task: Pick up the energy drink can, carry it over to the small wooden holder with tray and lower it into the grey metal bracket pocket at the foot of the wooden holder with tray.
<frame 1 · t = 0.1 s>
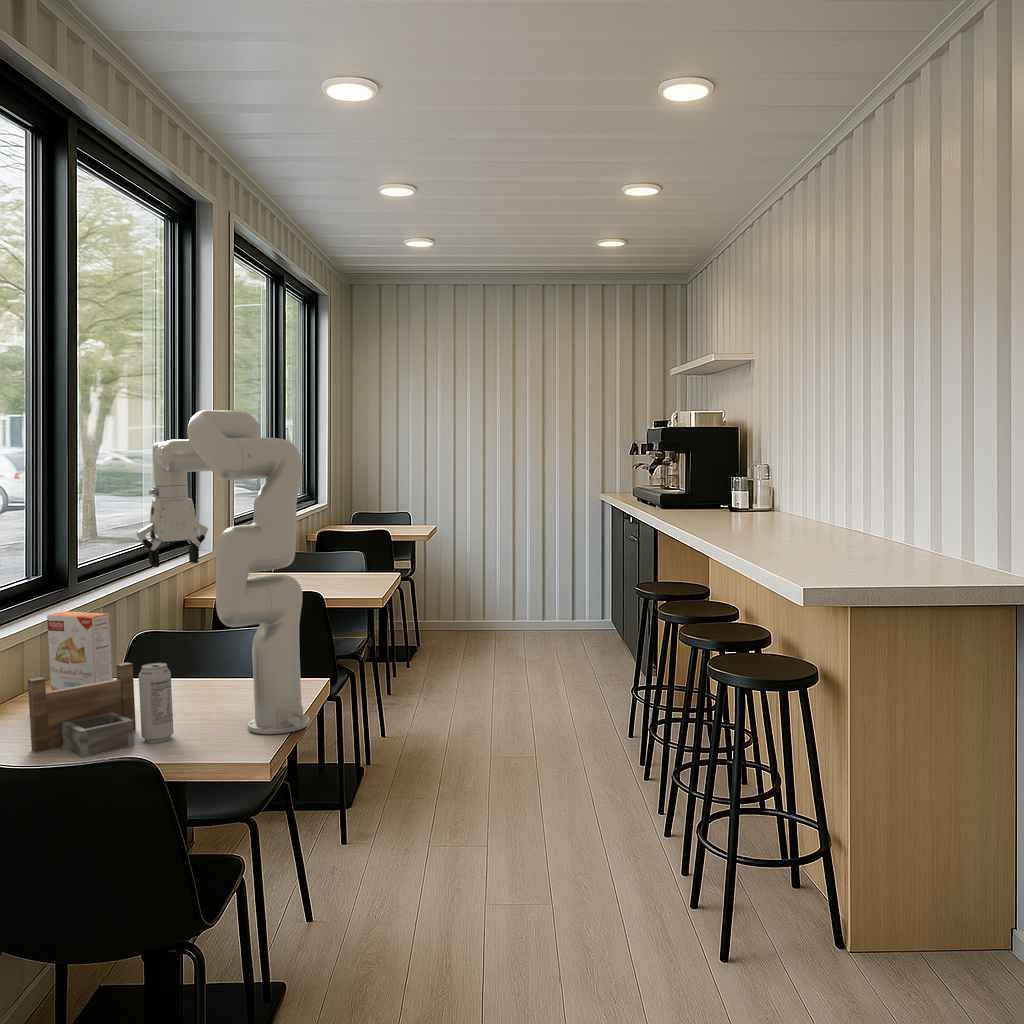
hand: (174, 564, 228), 31 cm above the table, tool pointing down, fingers open, 9 cm apart
cracker box: (82, 702, 224), on the table
wooden holder with tray: (93, 743, 189), on the table
energy drink can: (157, 740, 191), on the table
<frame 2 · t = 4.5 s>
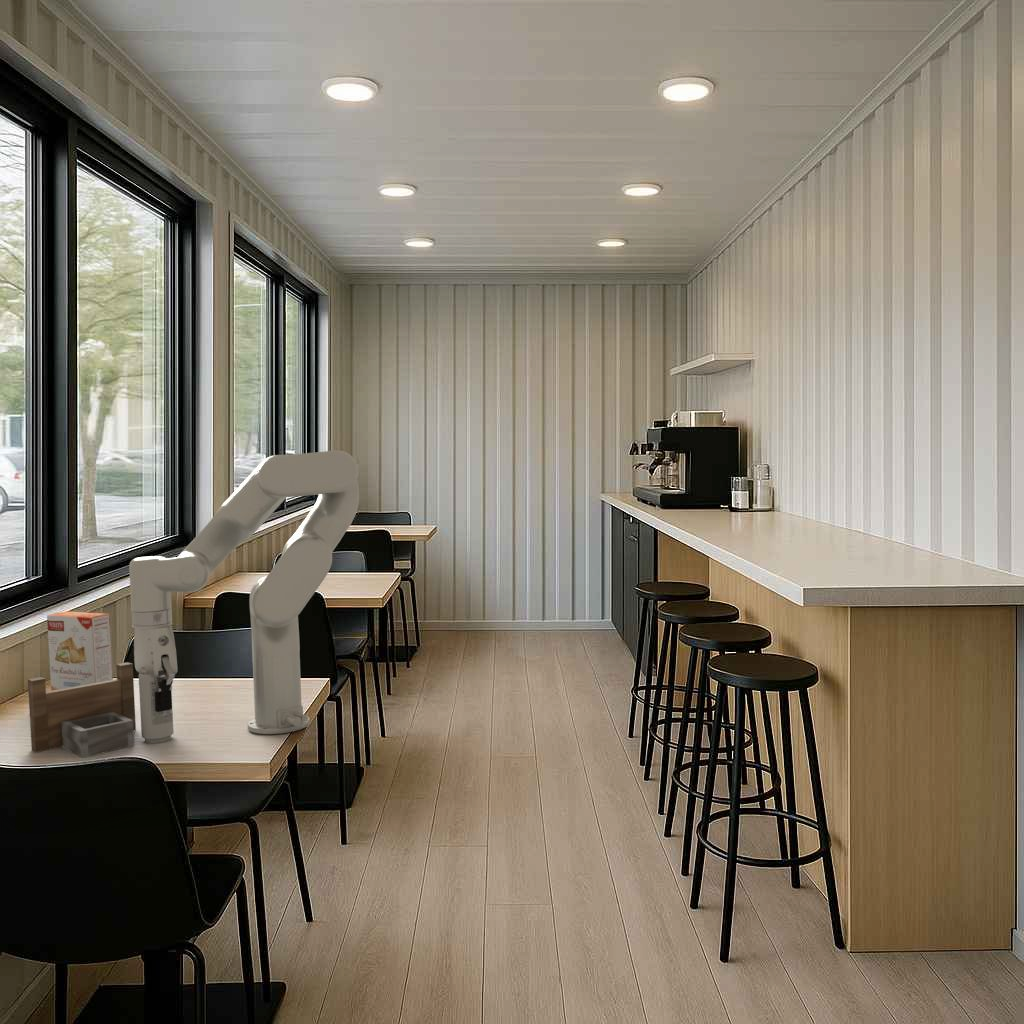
hand: (156, 706, 191), 7 cm above the table, tool pointing down, fingers closed on energy drink can, 6 cm apart
energy drink can: (157, 740, 191), on the table, touching gripper
everything else where it was.
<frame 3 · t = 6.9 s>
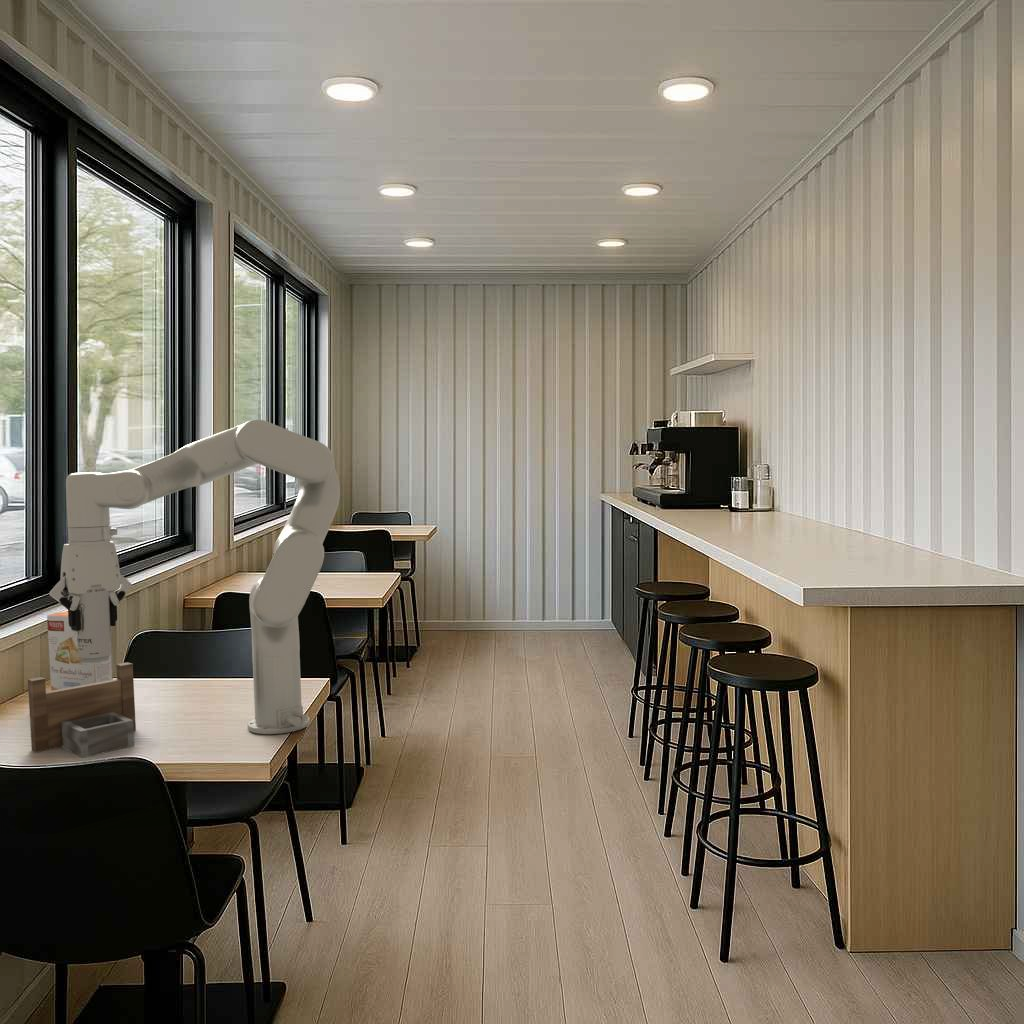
hand: (93, 626, 186), 24 cm above the table, tool pointing down, fingers closed on energy drink can, 6 cm apart
energy drink can: (95, 661, 186), point 17 cm above the table, touching gripper
everything else where it was.
when the fingers open (8 cm above the table, at t = 9.5 s): energy drink can drops 1 cm, resting in wooden holder with tray.
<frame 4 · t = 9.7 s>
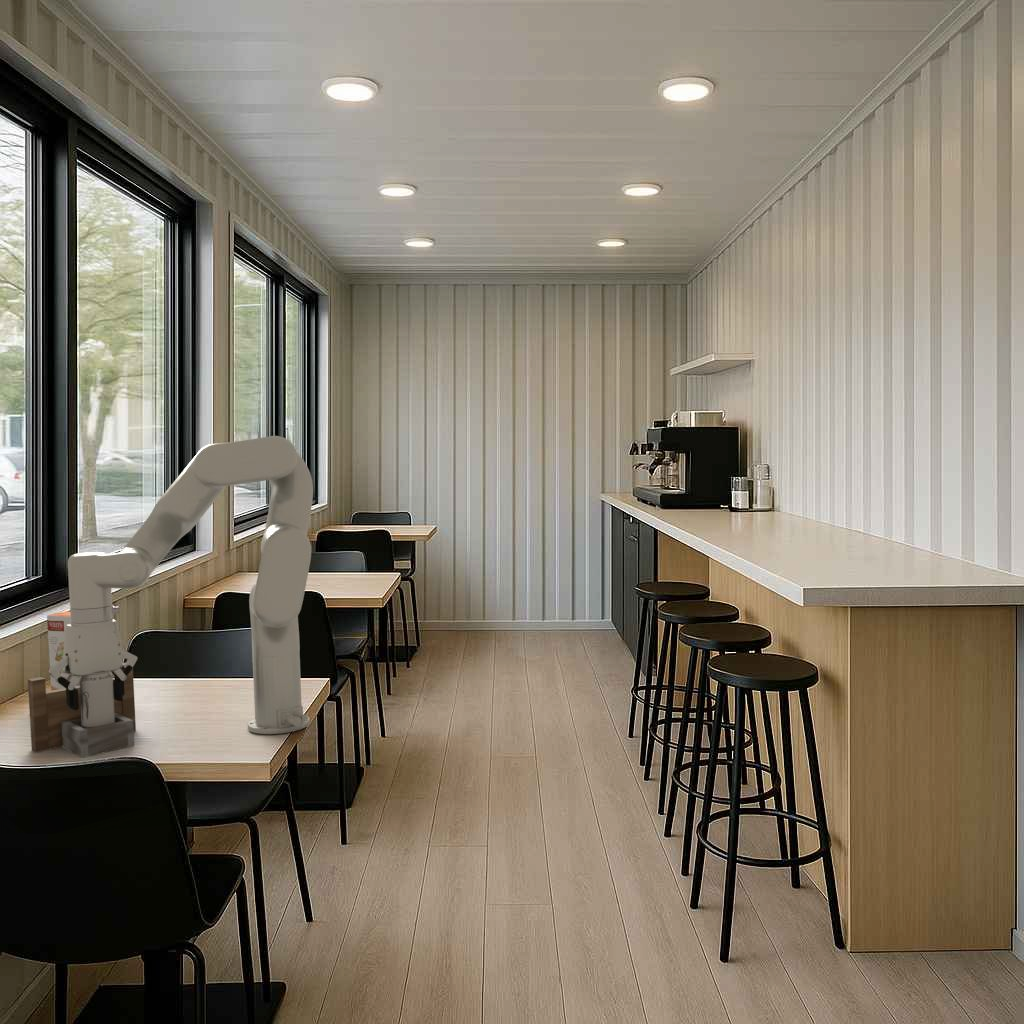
hand: (96, 703, 187), 8 cm above the table, tool pointing down, fingers open, 8 cm apart
energy drink can: (99, 747, 187), resting in wooden holder with tray
everything else where it was.
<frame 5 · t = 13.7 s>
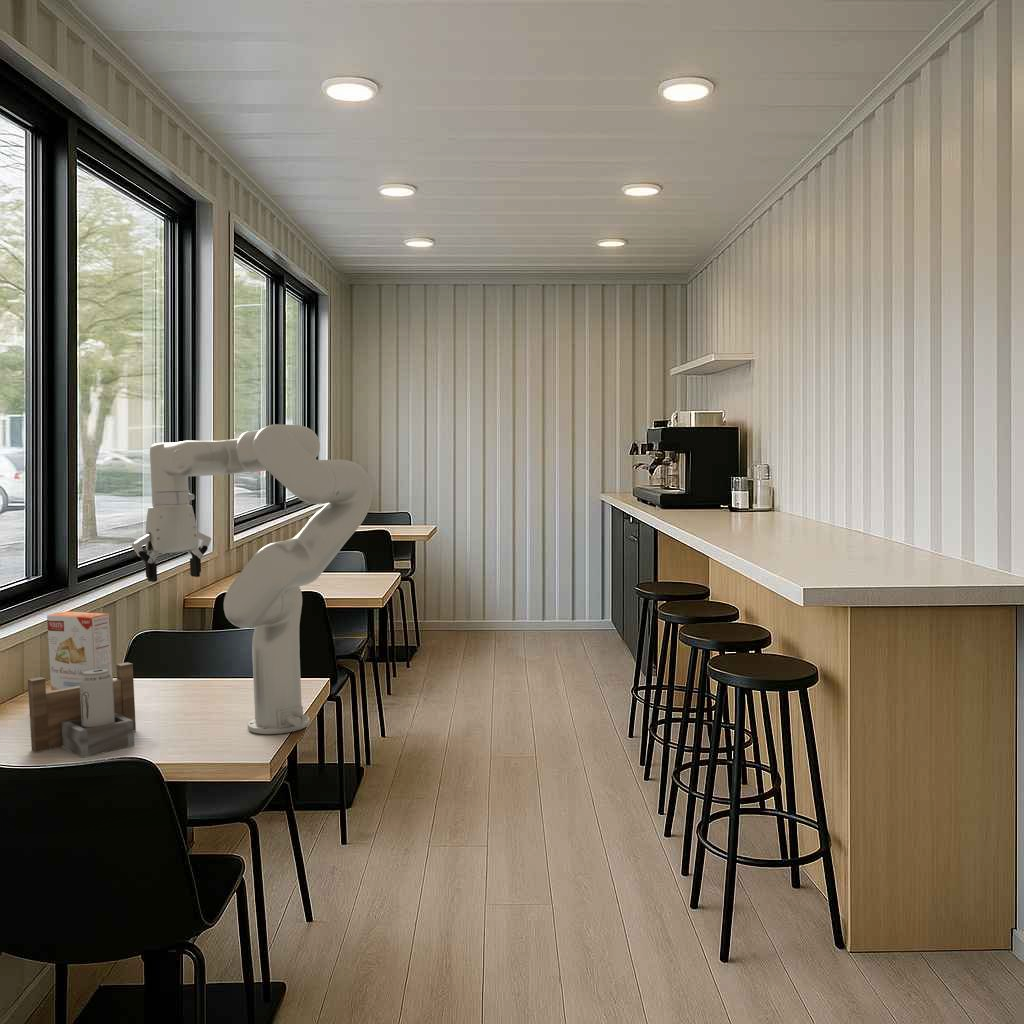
hand: (174, 578, 206), 30 cm above the table, tool pointing down, fingers open, 9 cm apart
nothing on the table moved.
at the end: energy drink can 0.2 cm from the target spot on the wooden holder with tray, point 0.0 cm above the wooden holder with tray's base; energy drink can tilted 0°; the gripper is holding nothing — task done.
